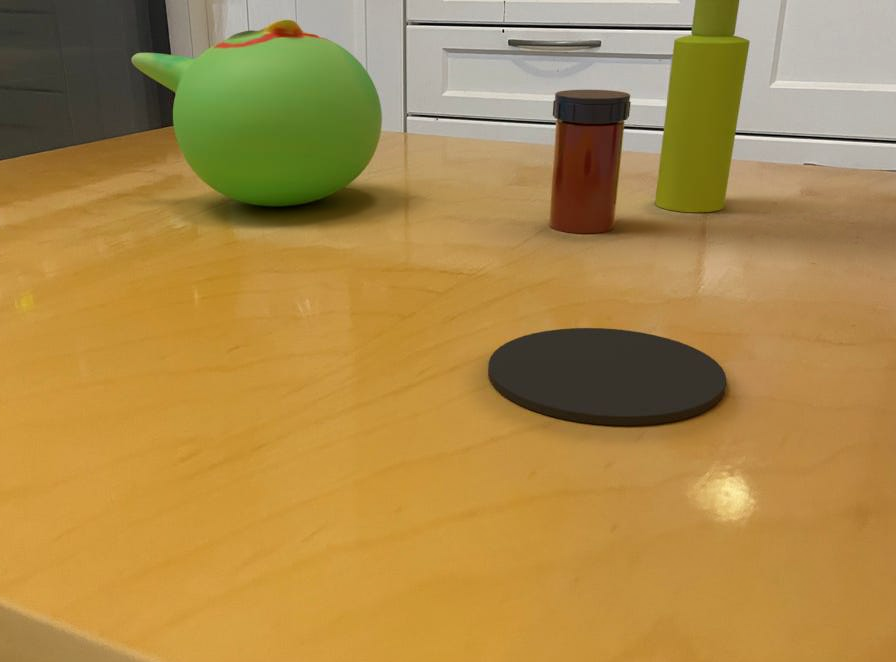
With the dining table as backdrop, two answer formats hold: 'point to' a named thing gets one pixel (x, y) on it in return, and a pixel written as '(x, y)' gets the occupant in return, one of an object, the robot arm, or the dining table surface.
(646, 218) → the dining table surface
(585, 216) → the jar
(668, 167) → the soap dispenser
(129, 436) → the dining table surface
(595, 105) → the lid
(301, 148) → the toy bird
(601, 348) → the coaster
